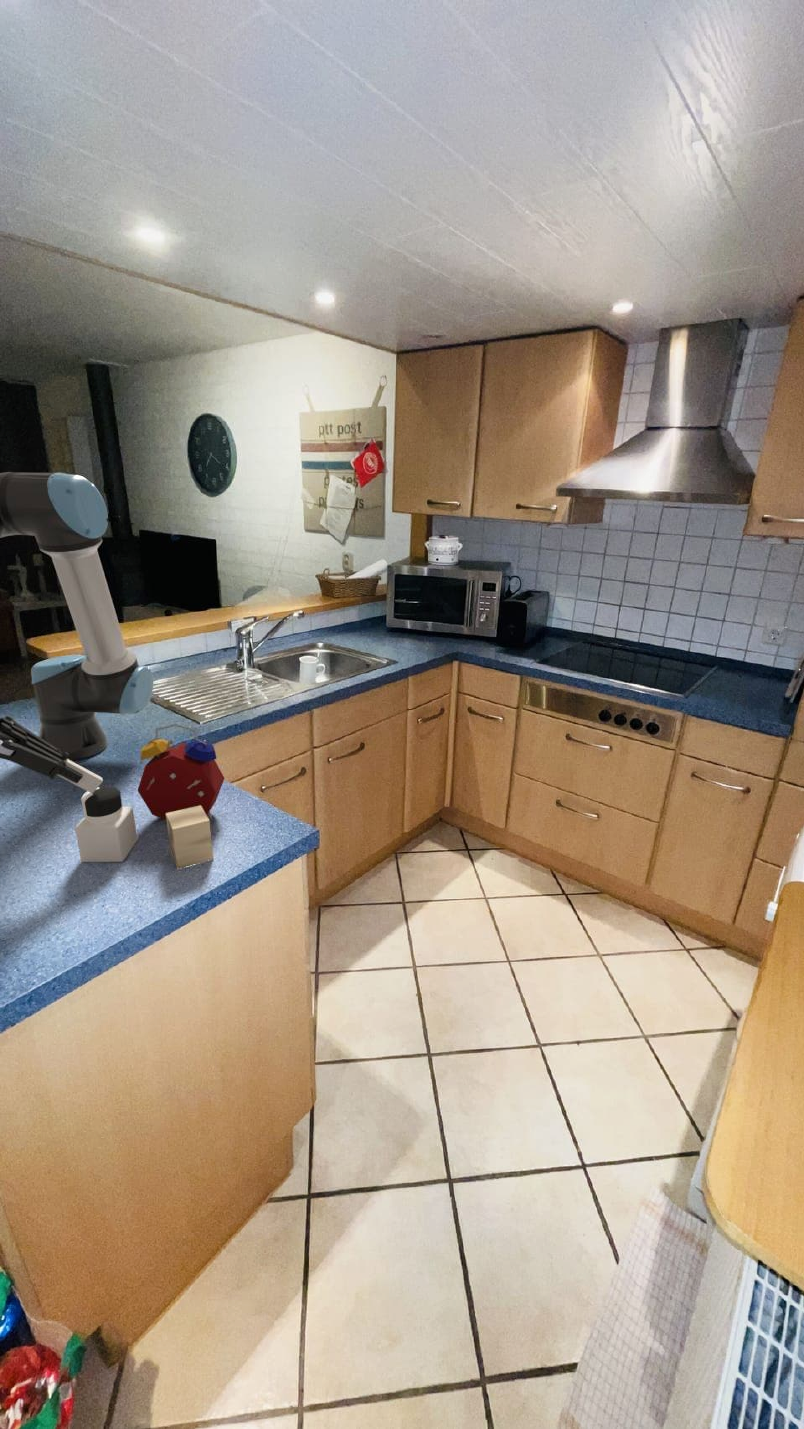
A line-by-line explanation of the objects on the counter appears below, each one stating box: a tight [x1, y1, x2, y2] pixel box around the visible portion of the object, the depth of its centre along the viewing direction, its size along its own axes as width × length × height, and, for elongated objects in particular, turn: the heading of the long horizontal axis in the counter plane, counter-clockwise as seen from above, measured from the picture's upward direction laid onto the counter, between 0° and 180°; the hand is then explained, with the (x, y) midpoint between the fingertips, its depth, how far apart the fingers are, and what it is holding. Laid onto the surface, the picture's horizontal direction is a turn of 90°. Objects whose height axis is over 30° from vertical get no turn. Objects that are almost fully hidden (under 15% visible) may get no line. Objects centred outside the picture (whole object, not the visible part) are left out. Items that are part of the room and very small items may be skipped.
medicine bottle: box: [74, 785, 138, 863], centre depth 103 cm, size 7×7×12 cm
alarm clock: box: [137, 723, 225, 821], centre depth 112 cm, size 15×9×20 cm, turn 90°
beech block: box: [166, 805, 214, 870], centre depth 103 cm, size 6×6×8 cm
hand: (97, 785), depth 100 cm, fingers closed
